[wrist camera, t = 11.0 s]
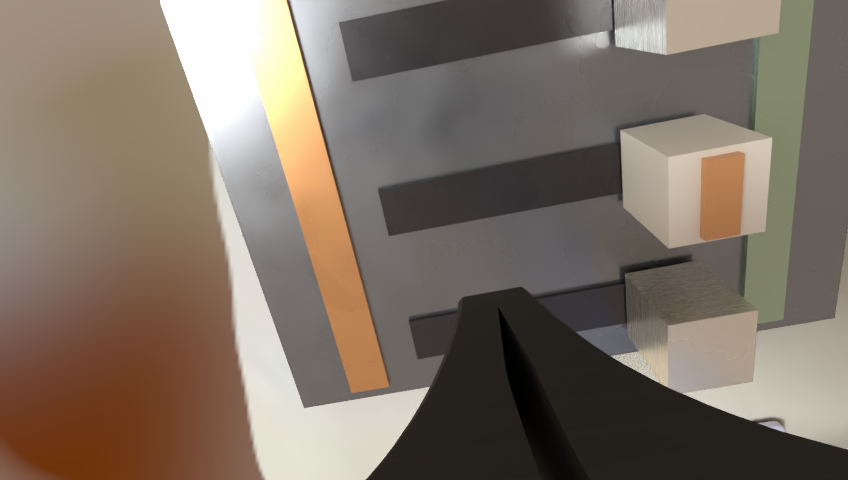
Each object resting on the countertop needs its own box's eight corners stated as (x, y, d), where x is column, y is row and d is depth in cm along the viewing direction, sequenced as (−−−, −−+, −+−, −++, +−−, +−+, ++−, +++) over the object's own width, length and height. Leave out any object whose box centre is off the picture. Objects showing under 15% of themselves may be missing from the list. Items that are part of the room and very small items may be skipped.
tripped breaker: (702, 192, 19) (771, 235, 15) (623, 207, 19) (673, 253, 15) (704, 113, 18) (779, 140, 14) (620, 130, 18) (673, 160, 14)
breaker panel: (813, 302, 22) (919, 379, 18) (309, 389, 24) (284, 483, 19) (868, -146, 16) (1054, -209, 11) (175, 1, 17) (89, -2, 13)
